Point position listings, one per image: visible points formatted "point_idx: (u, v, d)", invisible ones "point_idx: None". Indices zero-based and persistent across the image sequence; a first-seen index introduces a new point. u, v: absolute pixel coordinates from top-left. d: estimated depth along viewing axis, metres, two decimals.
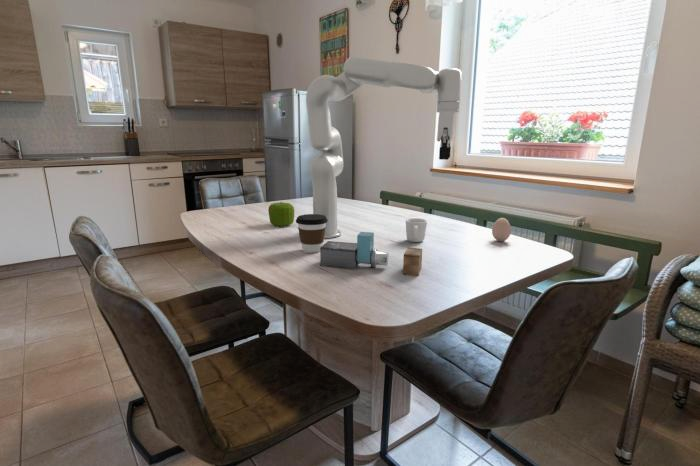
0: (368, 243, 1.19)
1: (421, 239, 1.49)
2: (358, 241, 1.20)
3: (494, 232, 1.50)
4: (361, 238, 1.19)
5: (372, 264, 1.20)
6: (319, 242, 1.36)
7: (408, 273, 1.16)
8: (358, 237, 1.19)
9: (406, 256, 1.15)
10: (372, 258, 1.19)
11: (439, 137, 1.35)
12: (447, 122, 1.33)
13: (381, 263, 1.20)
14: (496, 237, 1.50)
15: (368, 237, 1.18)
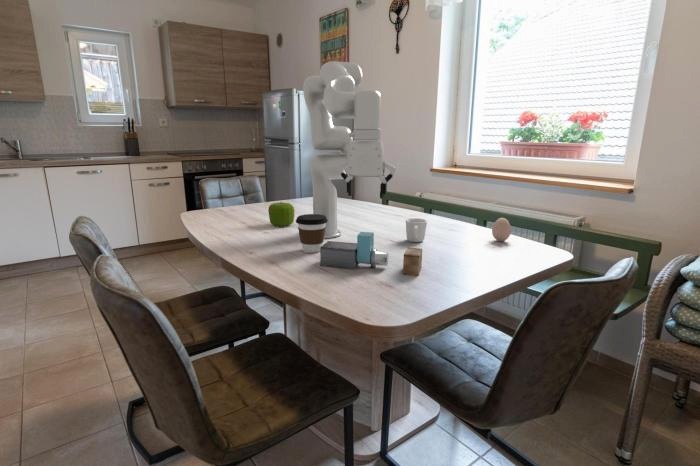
0: (368, 243, 1.19)
1: (421, 239, 1.49)
2: (358, 241, 1.20)
3: (494, 232, 1.50)
4: (361, 238, 1.19)
5: (372, 264, 1.20)
6: (319, 242, 1.36)
7: (408, 273, 1.16)
8: (358, 237, 1.19)
9: (406, 256, 1.15)
10: (372, 258, 1.19)
11: (382, 172, 1.13)
12: (383, 154, 1.14)
13: (381, 263, 1.20)
14: (496, 237, 1.50)
15: (368, 237, 1.18)
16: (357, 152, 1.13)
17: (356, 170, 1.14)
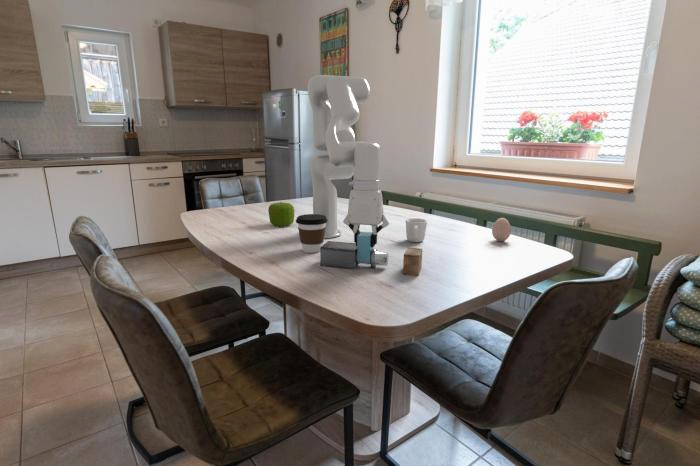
0: (368, 243, 1.19)
1: (421, 239, 1.49)
2: (358, 241, 1.20)
3: (494, 232, 1.50)
4: (361, 238, 1.19)
5: (372, 264, 1.20)
6: (319, 242, 1.36)
7: (408, 273, 1.16)
8: (358, 237, 1.19)
9: (406, 256, 1.15)
10: (372, 258, 1.19)
11: (380, 220, 1.17)
12: (382, 203, 1.18)
13: (381, 263, 1.20)
14: (496, 237, 1.50)
15: (368, 237, 1.18)
16: (356, 202, 1.16)
17: (355, 218, 1.18)
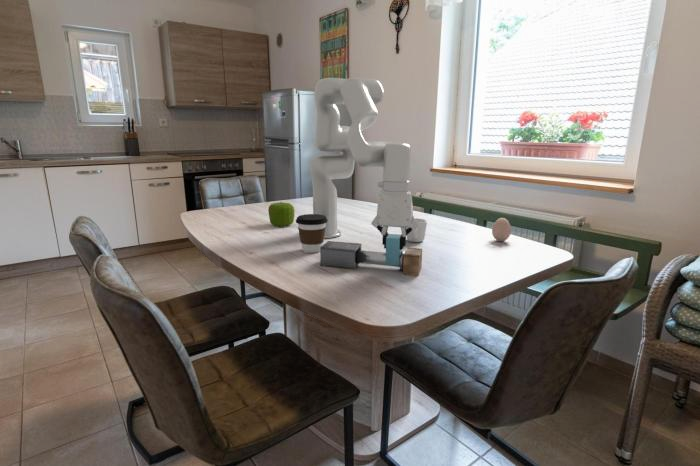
0: (397, 245, 1.17)
1: (421, 239, 1.49)
2: (387, 243, 1.17)
3: (494, 232, 1.50)
4: (391, 240, 1.17)
5: (401, 267, 1.18)
6: (319, 242, 1.36)
7: (408, 273, 1.16)
8: (387, 239, 1.17)
9: (406, 256, 1.15)
10: (401, 261, 1.17)
11: (411, 222, 1.14)
12: (412, 204, 1.15)
13: None
14: (496, 237, 1.50)
15: (397, 239, 1.16)
16: (386, 203, 1.14)
17: (385, 220, 1.15)
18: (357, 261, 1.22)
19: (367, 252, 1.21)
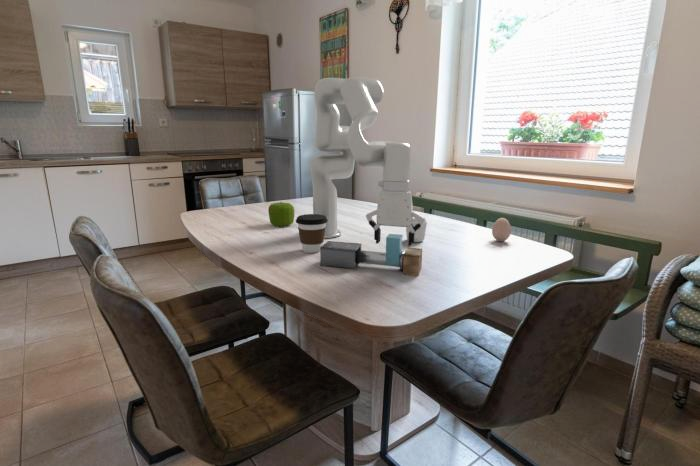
0: (397, 245, 1.17)
1: (421, 239, 1.49)
2: (387, 243, 1.17)
3: (494, 232, 1.50)
4: (391, 240, 1.17)
5: (401, 267, 1.18)
6: (319, 242, 1.36)
7: (408, 273, 1.16)
8: (387, 239, 1.17)
9: (406, 256, 1.15)
10: (401, 261, 1.17)
11: (410, 222, 1.14)
12: None
13: None
14: (496, 237, 1.50)
15: (397, 239, 1.16)
16: (386, 203, 1.14)
17: (385, 220, 1.15)
18: (357, 261, 1.22)
19: (367, 252, 1.21)
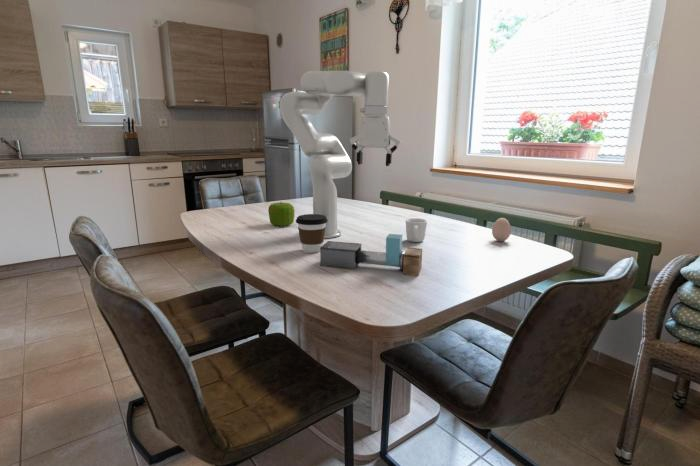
0: (397, 245, 1.17)
1: (421, 239, 1.49)
2: (387, 243, 1.17)
3: (494, 232, 1.50)
4: (391, 240, 1.17)
5: (401, 267, 1.18)
6: (319, 242, 1.36)
7: (408, 273, 1.16)
8: (387, 239, 1.17)
9: (406, 256, 1.15)
10: (401, 261, 1.17)
11: (388, 143, 1.30)
12: (389, 128, 1.31)
13: None
14: (496, 237, 1.50)
15: (397, 239, 1.16)
16: (366, 126, 1.30)
17: (365, 141, 1.31)
18: (357, 261, 1.22)
19: (367, 252, 1.21)
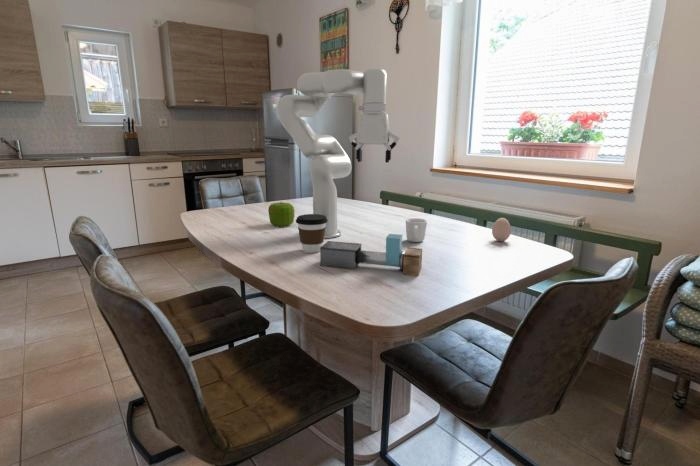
0: (397, 245, 1.17)
1: (421, 239, 1.49)
2: (387, 243, 1.17)
3: (494, 232, 1.50)
4: (391, 240, 1.17)
5: (401, 267, 1.18)
6: (319, 242, 1.36)
7: (408, 273, 1.16)
8: (387, 239, 1.17)
9: (406, 256, 1.15)
10: (401, 261, 1.17)
11: (387, 140, 1.31)
12: (388, 125, 1.32)
13: None
14: (496, 237, 1.50)
15: (397, 239, 1.16)
16: (365, 123, 1.31)
17: (365, 139, 1.32)
18: (357, 261, 1.22)
19: (367, 252, 1.21)
